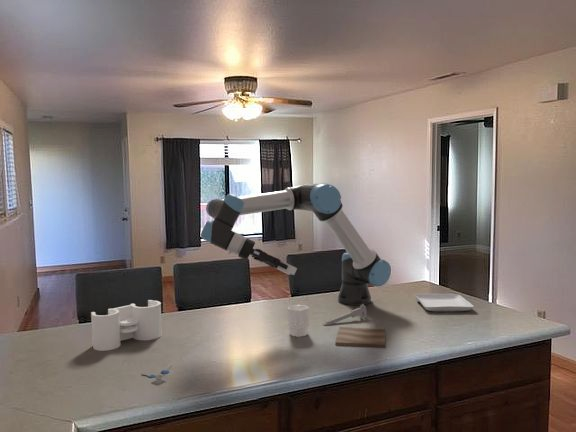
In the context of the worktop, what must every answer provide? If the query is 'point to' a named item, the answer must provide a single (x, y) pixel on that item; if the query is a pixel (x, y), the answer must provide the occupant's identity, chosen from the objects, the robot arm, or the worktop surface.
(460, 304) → the salad plate
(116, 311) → the bracket
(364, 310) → the caliper
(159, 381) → the key chain
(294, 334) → the white cup
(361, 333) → the walnut board
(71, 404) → the worktop surface
